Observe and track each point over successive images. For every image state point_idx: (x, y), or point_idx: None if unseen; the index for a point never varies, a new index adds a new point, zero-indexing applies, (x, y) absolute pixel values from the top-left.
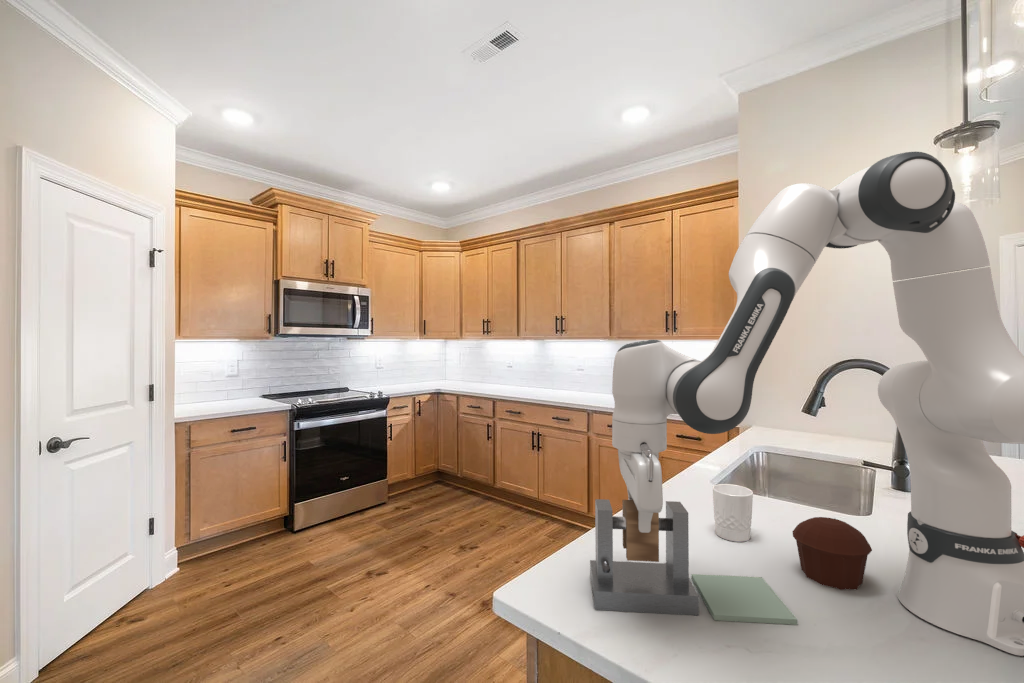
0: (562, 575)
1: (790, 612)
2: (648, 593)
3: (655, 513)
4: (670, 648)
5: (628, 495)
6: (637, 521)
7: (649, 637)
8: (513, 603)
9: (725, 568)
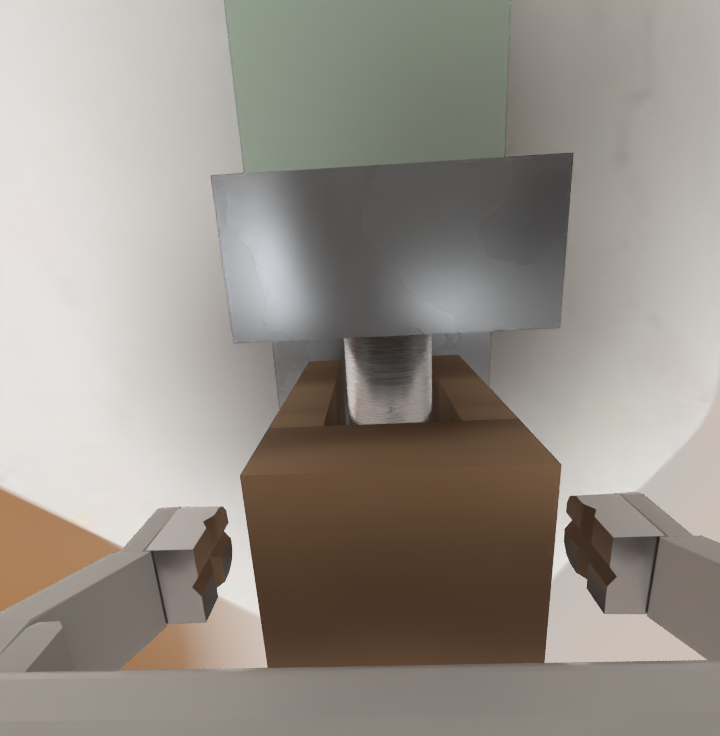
0: None
1: None
2: (488, 376)
3: (552, 484)
4: (628, 327)
5: (143, 639)
6: (587, 588)
7: (583, 374)
8: None
9: (134, 6)
